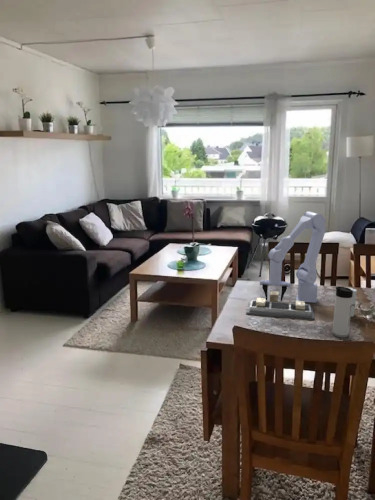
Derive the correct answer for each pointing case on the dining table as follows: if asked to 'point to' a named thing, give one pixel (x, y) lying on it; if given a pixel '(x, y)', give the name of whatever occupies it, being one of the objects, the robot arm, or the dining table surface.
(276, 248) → the robot arm
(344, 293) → the travel mug
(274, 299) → the birch block
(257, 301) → the rail
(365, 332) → the dining table surface
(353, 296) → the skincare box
